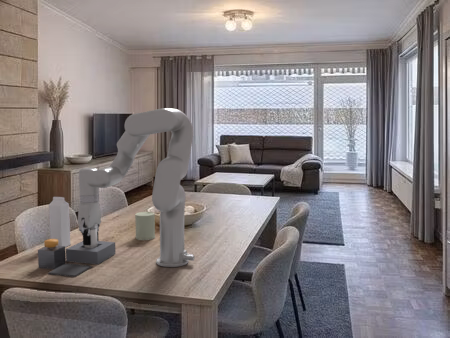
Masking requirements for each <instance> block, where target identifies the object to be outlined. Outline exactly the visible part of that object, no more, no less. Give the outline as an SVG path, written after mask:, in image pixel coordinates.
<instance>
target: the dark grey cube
mask: <svg viewBox="0 0 450 338" xmlns="http://www.w3.org/2000/svg"><path fill="white" fill-rule="evenodd" d="M37 258H38V259H37V260H38V261H37V262H38V269H47V270H54V269H56V268H58V267H60V266H62V265H64V264H66V263H67V261H66V247H65V246H56V247H54V249H50V248H47V247H45V246H43V247H42V248H39V249H37Z"/></svg>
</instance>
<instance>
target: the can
mask: <svg viewBox="0 0 450 338" xmlns="http://www.w3.org/2000/svg"><path fill="white" fill-rule="evenodd" d="M134 215H135V217H134V219H135V220H134V221H135V236H134V237H135V239H136V240H139V241H150V240H153V239H156V234H155V233H156V229H155V228H156V227H155V226H156V225H155V222H156V220H155V212H153V211H140V212H139V211H138V212H136V213H135V214H134Z"/></svg>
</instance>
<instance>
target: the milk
mask: <svg viewBox="0 0 450 338" xmlns="http://www.w3.org/2000/svg"><path fill="white" fill-rule="evenodd" d="M65 199H66V198H65V197H64V196H53V197H52V201H51V202H50V203H49V205H48V215H49V216H48V217H49V219H48V220H49V237H50V238H49V239H58V246H65V248H66V247H70V246H71V225H70V203H69V202H67V201H66V200H65Z"/></svg>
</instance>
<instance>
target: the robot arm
mask: <svg viewBox="0 0 450 338" xmlns="http://www.w3.org/2000/svg"><path fill="white" fill-rule="evenodd" d="M124 130H125V131H124V133H123V134H122V135H121V137H120V138H119V140H117V142H116V147H117V153H116V156H115V158H114V159H113V160H112V162H111V163H110V165H109V166H108V167H104V168H99V169H97V168H96V167H83V168H80V169H79V171H78V187H79V189H78V191H79V192H78V193H79V204H78V211H77V212H78V213H77V226H78V231H79V232H80V233H81V235H82V241H83V245H91V235H90V228H91V227H93V225H94V224H97V242H98V241H100V240H99V232H100V225H101V223H102V219H101V217H102V216H101V207H100V206H101V205H100V189H107V188H110V187H112V186H114V185H117V184H119V183H120V182H121V181H122V180H123V179H124V178H125V176H126V175H127V174H128V172H129V170H130V168H131V167H132V166H133V163H134V161H135V158H136V155H137V154H138V153H139V151H140V149H141V148H142V147H143V145H144V144H145V142H146V141H147V139H148V138H149V137H150V135H155V134H160V133H165V132H170V133H171V137H170V140H169V144H168V149H167V155H166V157H165V158H164V159H161V161H160V162H159V163H158V164H157V167H156V170H155V177H154V180H153V181H154V182H153V188H152V194H151V202H152V205H153V206H154V208H155V209H156V210H158V211H159V255H160V256H159V257H158V258H157V259H156V261H155V263H156V264H157V265H158V266H160V267H164V268H178V267H183V266H185V265H188V263H189V261H192V262H193V261H195V256H194V254H193V253H188V250H187V249H185V209H186V198H187V197H186V192H185V189H184V187H183V186H182V185H181V180H182V179H183V178H185V177H186V176H187V174H188V171H189V165H190V157H191V153H192V146H193V138H194V127H193V123H192V122H191V119H190V118H189V116H187V114H185V113H184V112H183V111H181V110H180V109H177V108H170V107H169V108H168V107H167V108H166V107H165V108H163V107H162V108H158V109H152V110H149V111H144V112H137V113H132V114H130V115H129V116H127V118H126V119H125V122H124ZM85 226H87V228H85ZM85 229H87V231H86V230H85Z"/></svg>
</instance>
